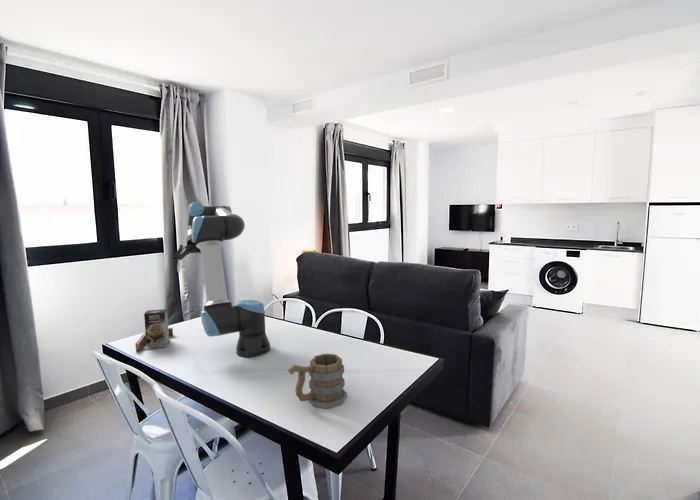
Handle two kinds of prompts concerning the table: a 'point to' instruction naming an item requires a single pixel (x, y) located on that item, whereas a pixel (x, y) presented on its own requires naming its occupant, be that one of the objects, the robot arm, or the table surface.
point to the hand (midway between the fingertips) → (192, 270)
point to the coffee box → (156, 327)
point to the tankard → (322, 381)
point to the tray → (142, 342)
